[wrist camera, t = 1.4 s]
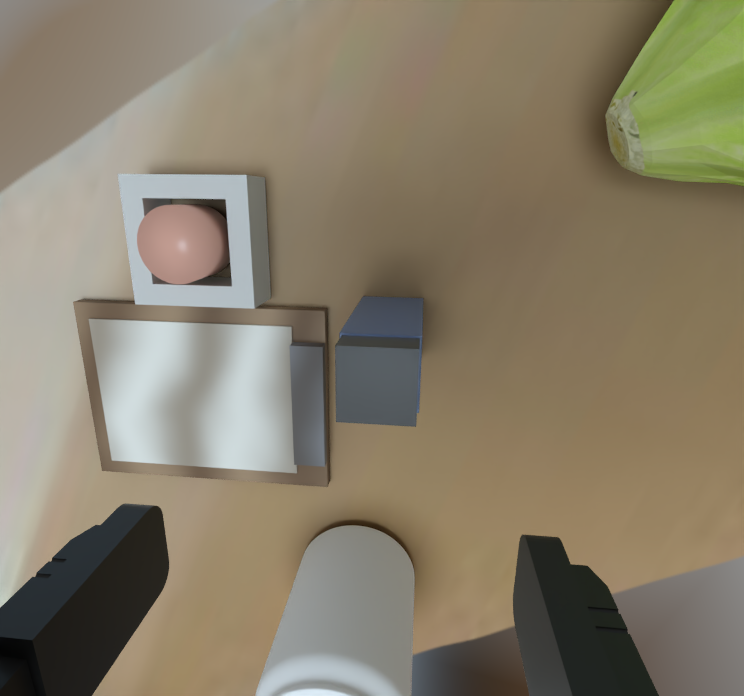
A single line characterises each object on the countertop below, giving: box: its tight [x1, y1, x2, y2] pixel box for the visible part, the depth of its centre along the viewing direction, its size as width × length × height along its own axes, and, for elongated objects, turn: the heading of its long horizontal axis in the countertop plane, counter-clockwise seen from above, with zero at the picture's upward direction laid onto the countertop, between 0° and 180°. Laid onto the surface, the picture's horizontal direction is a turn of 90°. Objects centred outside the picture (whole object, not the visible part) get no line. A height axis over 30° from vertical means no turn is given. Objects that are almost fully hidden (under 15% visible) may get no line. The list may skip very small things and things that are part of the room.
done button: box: [137, 204, 230, 284], centre depth 26 cm, size 4×4×3 cm
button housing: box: [118, 174, 271, 309], centre depth 28 cm, size 7×7×3 cm
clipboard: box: [73, 300, 330, 487], centre depth 31 cm, size 16×12×2 cm
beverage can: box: [256, 525, 415, 696], centre depth 29 cm, size 8×8×12 cm
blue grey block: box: [335, 296, 423, 427], centre depth 25 cm, size 4×4×10 cm
